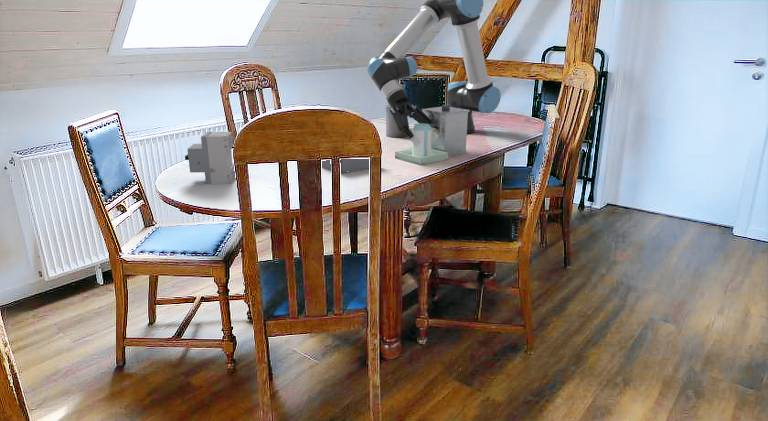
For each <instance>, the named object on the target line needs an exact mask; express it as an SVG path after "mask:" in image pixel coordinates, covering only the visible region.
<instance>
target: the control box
mask: <svg viewBox="0 0 768 421" xmlns="http://www.w3.org/2000/svg"><path fill="white" fill-rule="evenodd" d="M421 110H422V111H423V112H424V113H425V114H426V116H427V117H428V118H429V119H430V120H431V121H432V123H431V124H430V126H431V127H432V129H433V130H434V132H435V133H436V135H437V136H438V139H437V140H436V141H435V142H434V143H433V142H432V140H431V149H434V150H438V151H443V152H447V153H448V158H449V157H454V156H458V155H464V154H466V153H467V121H468V112H469V111H470V110H466V109H460V108H453V107H450V105H447V104H441V106H437V107H428V108H421Z"/></svg>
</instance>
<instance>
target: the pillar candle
mask: <svg viewBox="0 0 768 421" xmlns="http://www.w3.org/2000/svg"><path fill="white" fill-rule="evenodd" d="M390 109H391V106H390V105H389V104H386V105H385V112H386V113H385V131H386V132H385V135H386V137H390V138H394V137H395V138H404V137H408V136H407V134H406V133H404V134H403V133H402V131H399V129H398V127H397V124H396V122H395V119H394V117H393V115H392V113H391V112H390Z"/></svg>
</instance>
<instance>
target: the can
mask: <svg viewBox="0 0 768 421" xmlns="http://www.w3.org/2000/svg"><path fill="white" fill-rule="evenodd" d="M412 129H413V131H414V132H415V134H416V135H417V137H418V138H419V139H420V141H421V143H420V144H419V145H418V146H417V147H415V145H414V144H413V142H412V141H411V142H412V144H411V149H412V155H413V156H417V157H425V156H431V135H432V129H431V127H430V124H424V123H415V124H413V128H412Z"/></svg>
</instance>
